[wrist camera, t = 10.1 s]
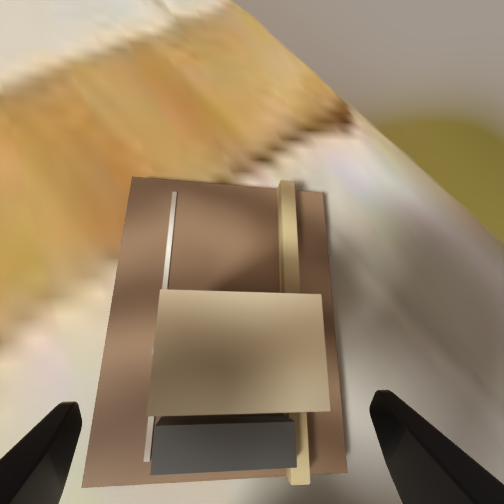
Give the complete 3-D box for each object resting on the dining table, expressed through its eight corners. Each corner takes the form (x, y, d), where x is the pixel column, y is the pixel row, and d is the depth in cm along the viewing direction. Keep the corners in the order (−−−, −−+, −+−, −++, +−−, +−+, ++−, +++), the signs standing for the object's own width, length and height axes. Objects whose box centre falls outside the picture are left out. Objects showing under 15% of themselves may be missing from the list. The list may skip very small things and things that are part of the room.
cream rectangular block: (276, 386, 17) (330, 411, 10) (150, 388, 16) (105, 417, 9) (274, 318, 19) (321, 294, 11) (158, 316, 18) (124, 288, 10)
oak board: (338, 465, 18) (365, 487, 15) (90, 478, 16) (63, 507, 13) (317, 200, 24) (333, 178, 21) (135, 185, 22) (124, 158, 19)
